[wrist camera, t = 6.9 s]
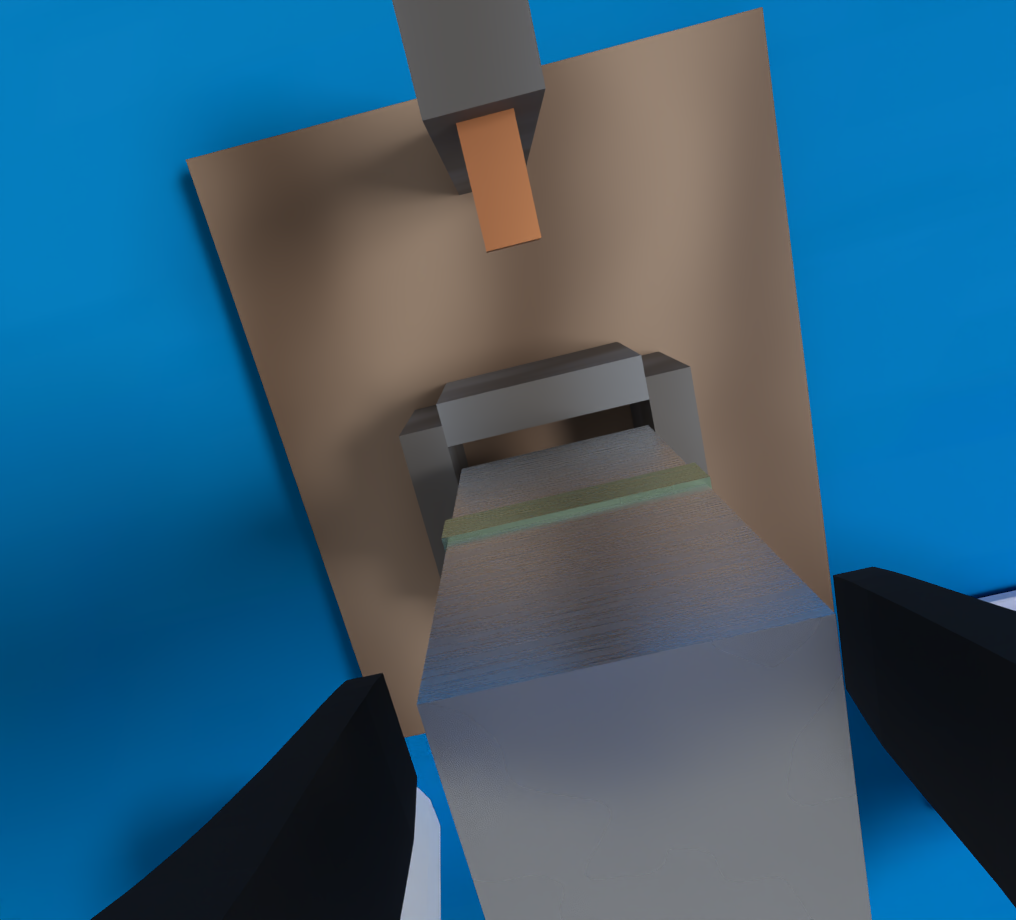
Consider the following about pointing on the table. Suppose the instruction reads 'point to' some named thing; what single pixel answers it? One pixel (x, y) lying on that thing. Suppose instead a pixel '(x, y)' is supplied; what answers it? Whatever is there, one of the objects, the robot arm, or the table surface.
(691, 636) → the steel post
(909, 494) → the table surface
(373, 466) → the stand
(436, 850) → the shot glass
